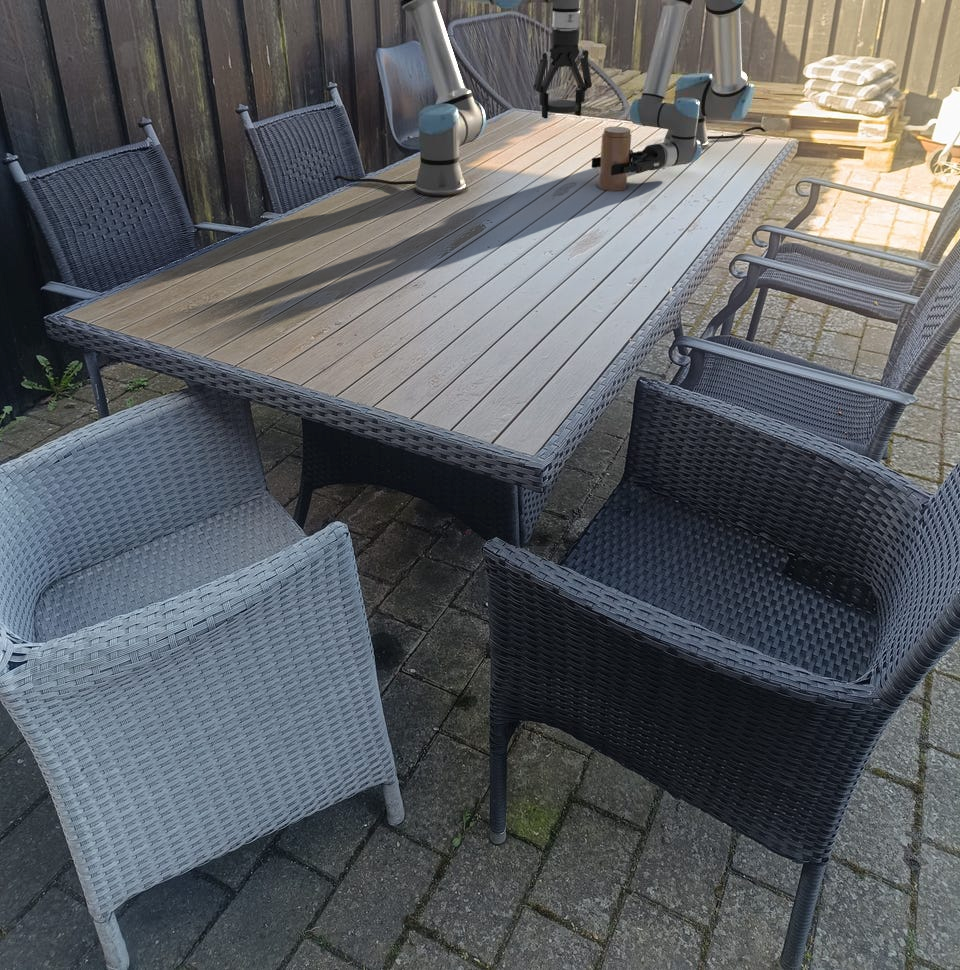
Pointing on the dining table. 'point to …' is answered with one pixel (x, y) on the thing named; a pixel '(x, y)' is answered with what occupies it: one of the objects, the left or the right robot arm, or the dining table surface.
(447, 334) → the dining table surface
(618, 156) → the jar
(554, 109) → the lid
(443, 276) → the dining table surface
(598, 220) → the dining table surface
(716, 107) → the right robot arm
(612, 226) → the dining table surface
